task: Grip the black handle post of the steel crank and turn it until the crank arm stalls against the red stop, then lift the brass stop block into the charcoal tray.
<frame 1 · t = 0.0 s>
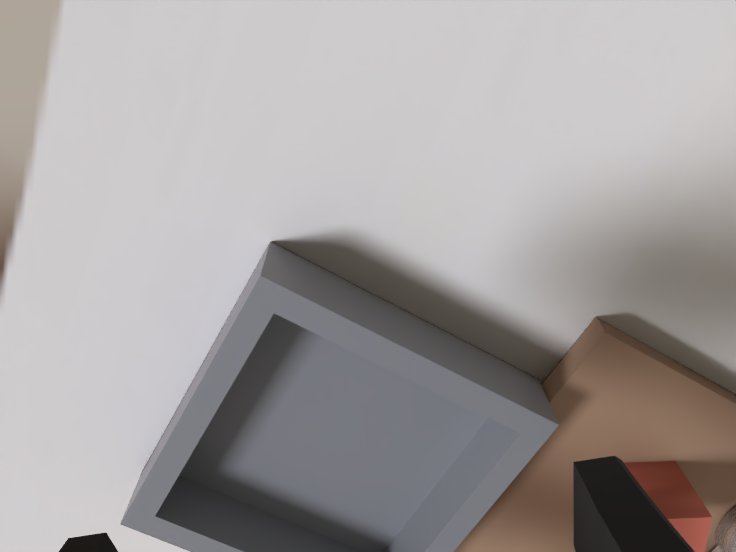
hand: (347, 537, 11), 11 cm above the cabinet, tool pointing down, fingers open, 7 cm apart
tray: (335, 426, 23), on the cabinet
crank base: (735, 504, 24), on the cabinet
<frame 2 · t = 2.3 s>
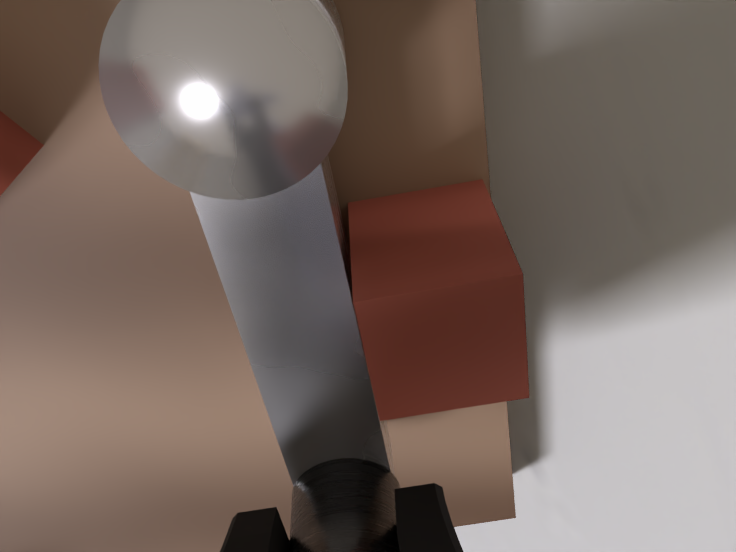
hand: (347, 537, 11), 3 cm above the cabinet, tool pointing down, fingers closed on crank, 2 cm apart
crank: (292, 384, 8), point 4 cm above the cabinet, hinge at 0.0°, touching gripper
crank base: (250, 24, 10), on the cabinet
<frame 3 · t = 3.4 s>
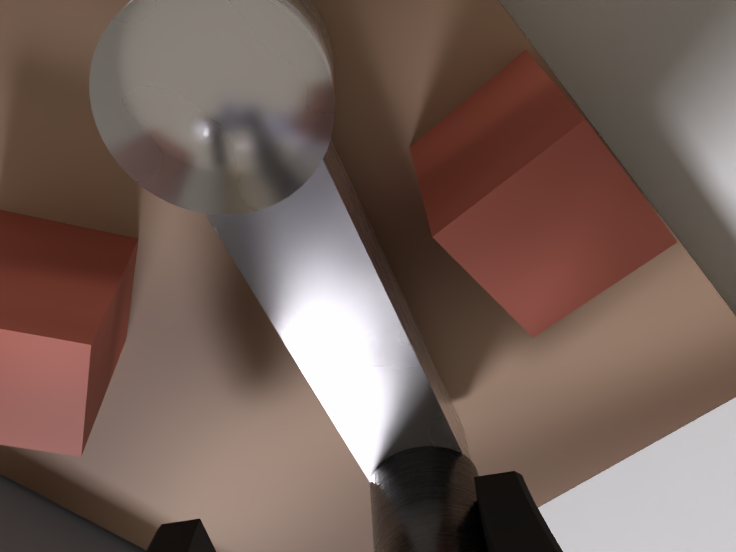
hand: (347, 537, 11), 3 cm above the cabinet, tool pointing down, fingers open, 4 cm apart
crank: (336, 383, 8), point 4 cm above the cabinet, hinge at 20.2°, touching gripper
crank base: (241, 39, 10), on the cabinet
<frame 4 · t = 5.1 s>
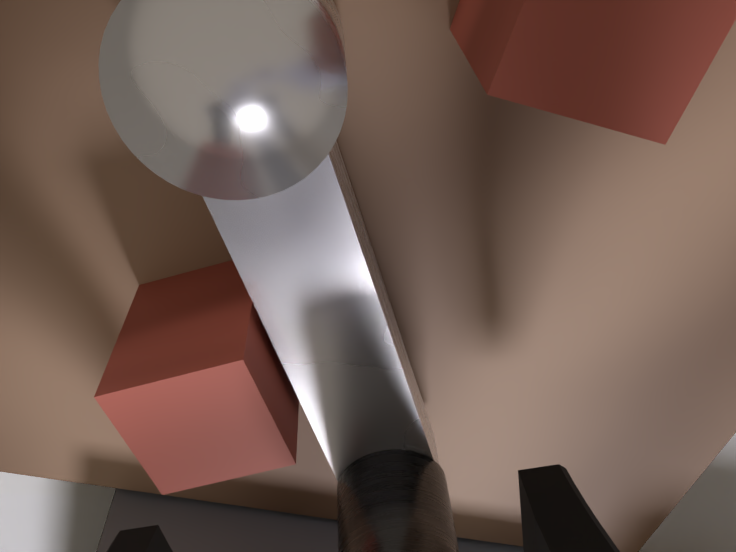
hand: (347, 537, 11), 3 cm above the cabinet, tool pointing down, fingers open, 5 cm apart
crank: (321, 378, 8), point 4 cm above the cabinet, hinge at 57.7°
crank base: (250, 24, 10), on the cabinet
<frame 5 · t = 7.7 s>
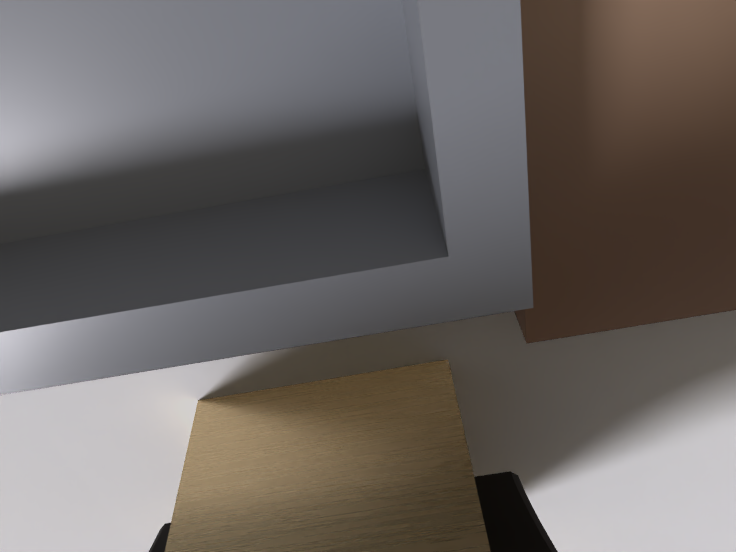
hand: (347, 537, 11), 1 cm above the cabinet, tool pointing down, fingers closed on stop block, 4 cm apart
stop block: (345, 463, 12), on the cabinet, touching gripper
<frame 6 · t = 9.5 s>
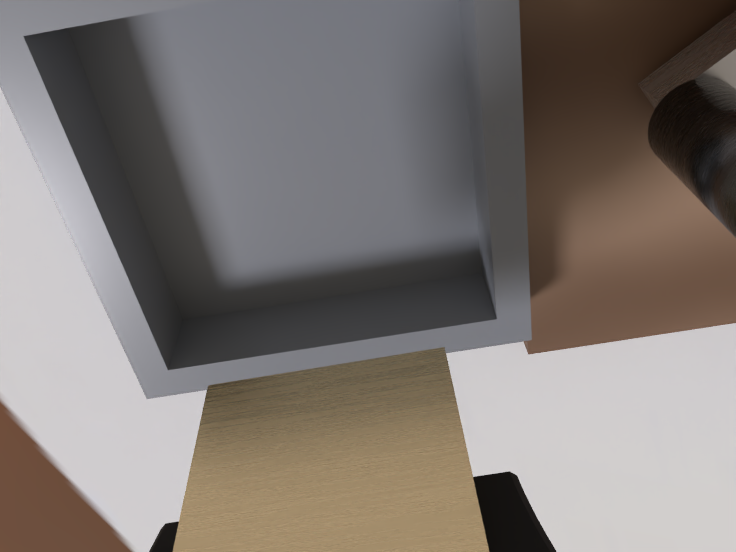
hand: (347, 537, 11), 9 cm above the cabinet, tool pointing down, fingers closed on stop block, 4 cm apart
stop block: (347, 448, 13), point 6 cm above the cabinet, touching gripper
tray: (298, 151, 16), on the cabinet
when the fingers open (4 cm above the cabinet, at t = 11.0 s): stop block drops 1 cm, resting on tray.
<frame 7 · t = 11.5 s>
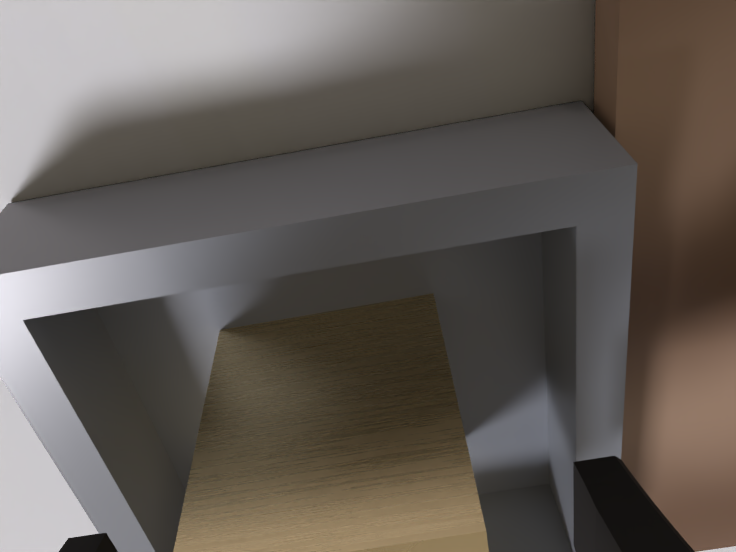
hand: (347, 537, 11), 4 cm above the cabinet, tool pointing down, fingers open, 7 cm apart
stop block: (346, 390, 14), resting on tray
tray: (343, 369, 14), on the cabinet
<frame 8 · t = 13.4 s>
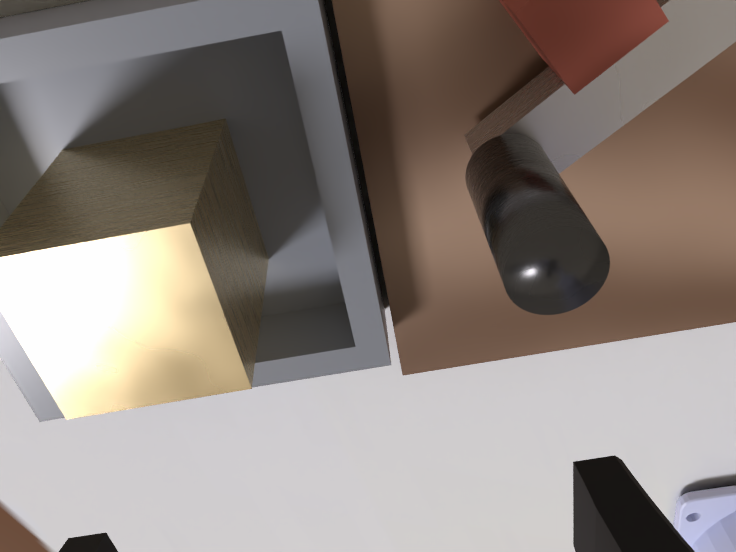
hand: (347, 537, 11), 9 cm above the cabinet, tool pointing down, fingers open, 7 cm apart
stop block: (171, 207, 17), resting on tray
crank: (685, 75, 13), point 4 cm above the cabinet, hinge at 57.7°
tray: (171, 193, 18), on the cabinet
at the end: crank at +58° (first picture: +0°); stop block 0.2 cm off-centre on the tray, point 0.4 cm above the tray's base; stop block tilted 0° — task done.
